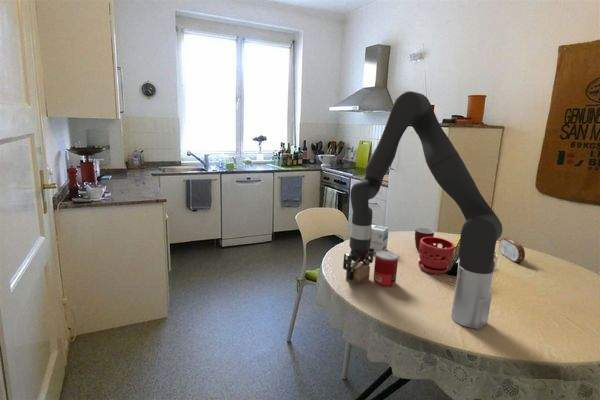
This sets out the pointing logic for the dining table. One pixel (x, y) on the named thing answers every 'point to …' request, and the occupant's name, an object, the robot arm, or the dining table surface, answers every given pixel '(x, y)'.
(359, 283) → the walnut block
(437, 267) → the plant pot
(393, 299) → the dining table surface
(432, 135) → the robot arm
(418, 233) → the mug
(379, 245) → the light bulb box
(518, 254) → the tin
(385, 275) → the canned food
